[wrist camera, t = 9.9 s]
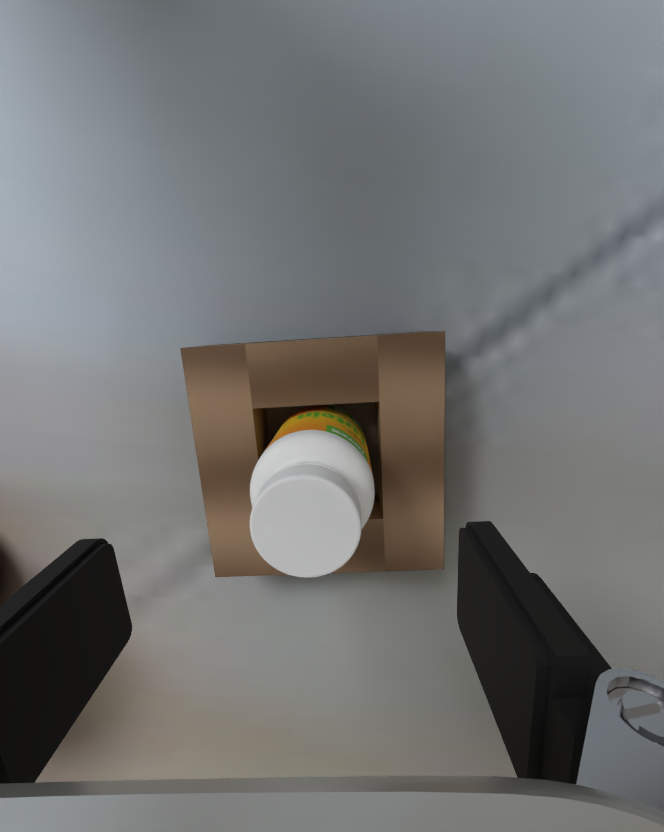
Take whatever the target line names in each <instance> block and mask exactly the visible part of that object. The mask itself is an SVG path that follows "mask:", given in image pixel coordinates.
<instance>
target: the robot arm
mask: <svg viewBox="0 0 664 832" xmlns="http://www.w3.org/2000/svg"><path fill="white" fill-rule="evenodd" d="M457 618H458V624H459V628H460V631H461V633H462V636H463V638H464V641H465V644H466V646H467V649H468V651H469V654H470V656H471V659H472V662H473V664H474V667H475V669H476V672H477V674H478V677H479V680H480V682H481V685H482V687H483V690H484V692H485V695H486V697H487V700H488V703H489V705H490V708H491V710H492V713H493V715H494V718H495V721H496V723H497V726H498V728H499V731H500V733H501V736H502V739H503V741H504V744H505V746H506V749H507V751H508V754H509V756H510V759H511V762H512V764H513V767H514V769H515V772H516V774H517V777H518V778H510V777H488V776H353V777H278V778H221V779H170V780H123V781H80V782H43V783H34V782H35V781H36V779H37V778H38V776H39V775H40V773H41V772H42V770H43V769H44V767H45V766H46V764H47V763H48V761H49V760H50V758H51V757H52V755H53V754H54V752H55V751H56V749H57V748H58V746H59V745H60V743H61V742H62V740H63V739H64V737H65V736H66V734H67V733H68V731H69V729H70V728H71V726H72V725H73V723H74V722H75V720H76V719H77V717H78V716H79V714H80V713H81V711H82V710H83V708H84V707H85V705H86V704H87V702H88V701H89V699H90V698H91V696H92V695H93V693H94V692H95V690H96V689H97V687H98V686H99V684H100V683H101V681H102V680H103V678H104V677H105V675H106V674H107V672H108V671H109V669H110V668H111V666H112V665H113V663H114V662H115V660H116V659H117V657H118V656H119V654H120V653H121V651H122V650H123V648H124V647H125V645H126V644H127V642H128V640H129V638H130V636H131V632H132V623H131V619H130V615H129V611H128V607H127V603H126V598H125V594H124V590H123V586H122V582H121V577H120V573H119V569H118V565H117V561H116V557H115V552H114V549H113V546H112V545H111V544H108V542H107V541H106V540H105V539H102V538H101V539H82V540H79V541H77V542H76V543H75V544H73V545H72V546H71V547H70V548H69V549H67V550H66V551H65V552H64V553H63V554H61V555H60V556H59V557H58V558H57V559H55V560H54V561H53V562H52V563H51V564H49V565H48V566H47V567H46V568H45V569H43V570H42V571H41V572H40V573H39V574H37V575H36V576H35V577H34V578H33V579H31V580H30V581H29V582H28V583H27V584H25V585H24V586H23V587H22V588H21V589H19V590H18V591H17V592H16V593H15V594H13V595H12V596H11V597H10V598H9V599H7V600H6V601H5V602H4V603H3V604H1V605H0V832H664V682H663V681H661V680H659V679H657V678H655V677H654V676H651V675H648V674H645V673H642V672H640V671H637V670H631V669H624V668H617V669H612V668H611V667H610V666H609V664H608V663H607V662H606V661H605V659H604V658H603V657H602V655H601V654H600V653H599V652H598V650H597V649H596V648H595V647H594V645H593V644H592V643H591V641H590V640H589V639H588V638H587V636H586V635H585V634H584V633H583V631H582V630H581V629H580V627H579V626H578V625H577V624H576V622H575V621H574V620H573V618H572V617H571V616H570V615H569V613H568V612H567V611H566V610H565V608H564V607H563V606H562V604H561V603H560V602H559V601H558V599H557V598H556V597H555V595H554V594H553V593H552V592H551V590H550V589H549V588H548V587H547V585H546V584H545V583H544V581H543V580H542V579H541V578H540V577H539V576H538V575H537V574H535V573H530V572H529V571H528V570H527V569H526V567H525V566H524V565H523V563H522V562H521V561H520V559H519V558H518V557H517V555H516V554H515V553H514V551H513V550H512V549H511V547H510V546H509V545H508V543H507V542H506V541H505V539H504V538H503V537H502V535H501V534H500V533H499V531H498V530H497V529H496V528H495V526H494V525H493V524H492V523H491V522H490V521H481V522H468V523H467V524H466V528H460V530H459V556H458V596H457Z"/></svg>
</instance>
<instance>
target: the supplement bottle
mask: <svg viewBox="0 0 664 832" xmlns="http://www.w3.org/2000/svg"><path fill="white" fill-rule="evenodd" d="M374 495H375V490H374V480H373V474H372V469H371V464H370V459H369V453H368V447H367V442H366V438H365V434H364V432H363V429H362V427H361V425H360V424H359V422H358V421H357V420H356V419H355V417H353V416H352V415H351V414H350V413H349V412H347V411H346V410H344V409H343V408H341V407H338V406H335V405H332V404H327V405H309V406H304V407H301V408H299V409H298V410H296V411H295V412H293V413H292V414H291V415H290V416H289V417H288V418H287V419H286V420H285V422H284V423H283V425H282V426H281V428H280V429H279V430H278V432H277V433H276V435H275V436H274V438H273V439H272V441H271V442H270V444H269V445H268V447H267V448H266V450H265V451H264V452H263V454H262V455H261V457H260V459H259V460H258V462H257V464H256V466H255V468H254V471H253V473H252V477H251V482H250V499H251V504H252V511H251V515H250V533H251V537H252V541H253V543H254V545H255V548H256V549H257V551H258V552H259V554H260V555H261V556H262V558H263V559H264V560H265V561H266V562H267V563H268V564H270V565H271V566H272V567H274V568H275V569H277V570H279V571H281V572H283V573H285V574H288V575H292V576H296V577H305V578H311V577H319V576H323V575H326V574H329V573H331V572H333V571H336V570H337V569H339V568H340V567H342V566H343V565H344V564H345V563H346V562H347V561H348V560H349V559H350V558H351V557H352V555H353V554H354V552H355V550H356V548H357V546H358V544H359V541H360V537H361V529H362V528H363V527H364V525H365V524H366V522H367V521H368V519H369V516H370V514H371V511H372V508H373V504H374Z"/></svg>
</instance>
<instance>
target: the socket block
mask: <svg viewBox="0 0 664 832" xmlns="http://www.w3.org/2000/svg"><path fill="white" fill-rule="evenodd" d="M181 355H182V361H183V368H184V374H185V381H186V388H187V394H188V401H189V407H190V414H191V420H192V427H193V433H194V440H195V447H196V453H197V460H198V466H199V473H200V479H201V486H202V492H203V499H204V505H205V512H206V519H207V525H208V532H209V538H210V545H211V551H212V558H213V564H214V571H215V577H231V576H260V575H288V574H285V573H283V572H281V571H279V570H277V569H275V568H274V567H272V566H271V565H270V564H268V563H267V562H266V561H265V560H264V559H263V558H262V556H261V555H260V554H259V552H258V551H257V549H256V548H255V545H254V543H253V541H252V537H251V533H250V515H251V511H252V504H251V499H250V482H251V477H252V473H253V471H254V468H255V466H256V464H257V462H258V460H259V459H260V457H261V455H262V454H263V452H264V451H265V450H266V448H267V447H268V445H269V444H270V442H271V441H272V439H273V438H274V436H275V435H276V433H277V432H278V430H279V429H280V428H281V426H282V425H283V423H284V422H285V420H286V419H287V418H288V417H289V416H290V415H291V414H292V413H293V412H295V411H296V410H298V409H299V408H301V407H304V406H309V405H327V404H332V405H335V406H338V407H341V408H343V409H344V410H346V411H347V412H349V413H350V414H351V415H352V416H353V417H355V419H356V420H357V421H358V422H359V424H360V425H361V427H362V429H363V432H364V434H365V438H366V442H367V447H368V453H369V459H370V464H371V469H372V474H373V480H374V490H375V495H374V504H373V508H372V511H371V514H370V516H369V519H368V521H367V522H366V524H365V525H364V527H363V528H362V529H361V537H360V541H359V544H358V546H357V548H356V550H355V552H354V554H353V555H352V557H351V558H350V559H349V560H348V561H347V562H346V563H345V564H344V565H343V566H342V567H340V568H339V569H337V570H336V571H333V572H331V573H347V572H376V571H405V570H434V569H444V419H445V332H437V331H426V332H410V333H394V334H379V335H363V336H347V337H331V338H316V339H300V340H284V341H268V342H252V343H237V344H221V345H207V346H197V347H188V348H181Z"/></svg>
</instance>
